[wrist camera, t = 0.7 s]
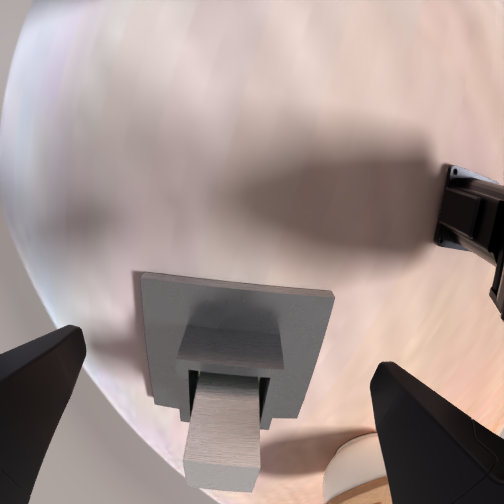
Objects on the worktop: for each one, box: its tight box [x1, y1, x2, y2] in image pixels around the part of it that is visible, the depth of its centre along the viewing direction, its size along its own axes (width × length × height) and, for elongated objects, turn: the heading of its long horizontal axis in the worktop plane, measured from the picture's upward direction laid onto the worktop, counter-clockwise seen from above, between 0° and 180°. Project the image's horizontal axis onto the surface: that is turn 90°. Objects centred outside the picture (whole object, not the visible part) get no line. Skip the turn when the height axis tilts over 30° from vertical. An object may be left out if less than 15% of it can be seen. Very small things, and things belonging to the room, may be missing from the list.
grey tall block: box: [183, 371, 261, 492], centre depth 17 cm, size 4×5×10 cm
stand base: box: [141, 272, 335, 430], centre depth 21 cm, size 14×14×5 cm
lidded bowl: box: [323, 433, 392, 504], centre depth 24 cm, size 13×13×11 cm
